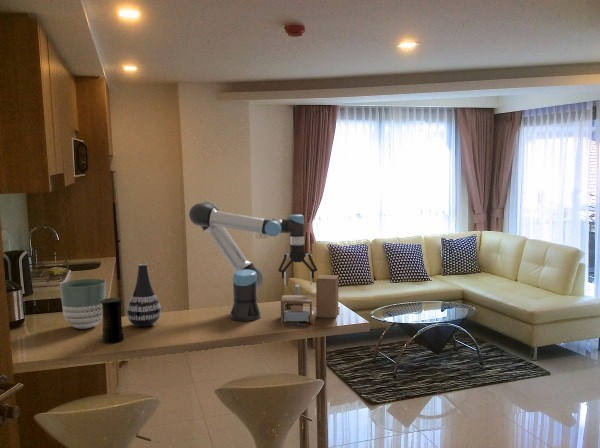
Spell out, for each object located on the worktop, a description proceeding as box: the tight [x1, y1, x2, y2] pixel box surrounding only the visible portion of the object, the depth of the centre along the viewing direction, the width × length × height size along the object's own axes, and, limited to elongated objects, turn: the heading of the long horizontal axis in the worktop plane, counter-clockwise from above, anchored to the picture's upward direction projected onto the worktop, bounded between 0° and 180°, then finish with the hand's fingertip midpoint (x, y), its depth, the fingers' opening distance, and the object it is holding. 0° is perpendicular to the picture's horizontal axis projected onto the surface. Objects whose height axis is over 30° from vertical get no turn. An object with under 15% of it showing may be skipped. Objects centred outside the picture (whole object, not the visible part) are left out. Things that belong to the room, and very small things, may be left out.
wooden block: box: [315, 274, 339, 319], centre depth 263 cm, size 10×10×20 cm
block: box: [290, 304, 304, 312], centre depth 257 cm, size 6×6×8 cm
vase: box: [126, 263, 162, 329], centre depth 246 cm, size 16×16×30 cm
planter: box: [59, 278, 107, 330], centre depth 244 cm, size 20×20×21 cm
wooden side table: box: [280, 294, 313, 324], centre depth 257 cm, size 14×15×10 cm
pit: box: [285, 322, 308, 328], centre depth 246 cm, size 5×10×1 cm, turn 89°
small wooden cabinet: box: [283, 284, 310, 323], centre depth 262 cm, size 23×12×14 cm, turn 179°
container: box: [101, 297, 124, 345], centre depth 223 cm, size 9×9×18 cm
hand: (298, 284), depth 270 cm, fingers open, 13 cm apart
